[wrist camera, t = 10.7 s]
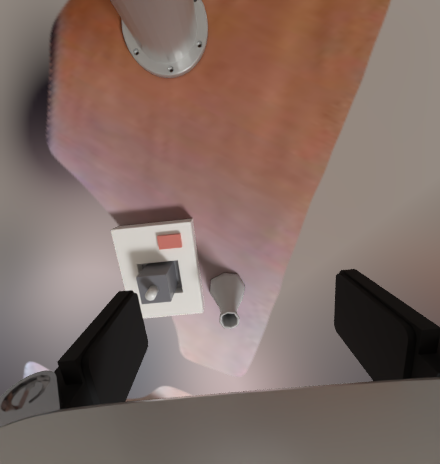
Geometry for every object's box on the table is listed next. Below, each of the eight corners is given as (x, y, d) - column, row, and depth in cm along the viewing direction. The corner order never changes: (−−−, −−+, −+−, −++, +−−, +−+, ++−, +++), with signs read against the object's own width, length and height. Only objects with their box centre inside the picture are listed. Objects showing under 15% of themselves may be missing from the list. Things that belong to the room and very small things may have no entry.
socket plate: (118, 226, 40) (108, 231, 36) (192, 218, 40) (189, 222, 36) (137, 310, 44) (130, 321, 41) (204, 303, 44) (203, 315, 41)
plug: (147, 263, 41) (131, 283, 33) (173, 260, 41) (163, 280, 33) (152, 286, 42) (137, 311, 34) (177, 284, 42) (168, 308, 34)
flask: (241, 268, 42) (247, 296, 33) (248, 300, 44) (256, 335, 34) (205, 275, 43) (201, 305, 33) (213, 307, 44) (212, 343, 35)
